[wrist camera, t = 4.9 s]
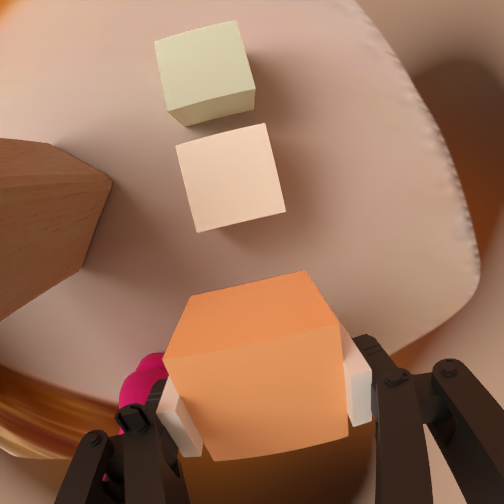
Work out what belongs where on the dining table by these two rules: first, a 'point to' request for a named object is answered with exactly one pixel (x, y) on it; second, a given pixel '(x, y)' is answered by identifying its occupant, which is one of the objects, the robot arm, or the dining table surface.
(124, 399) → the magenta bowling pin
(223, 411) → the orange cube
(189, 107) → the sage cube
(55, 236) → the wooden block
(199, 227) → the cream cube
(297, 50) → the dining table surface
